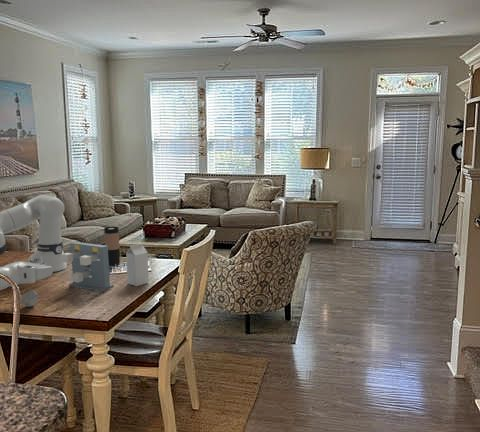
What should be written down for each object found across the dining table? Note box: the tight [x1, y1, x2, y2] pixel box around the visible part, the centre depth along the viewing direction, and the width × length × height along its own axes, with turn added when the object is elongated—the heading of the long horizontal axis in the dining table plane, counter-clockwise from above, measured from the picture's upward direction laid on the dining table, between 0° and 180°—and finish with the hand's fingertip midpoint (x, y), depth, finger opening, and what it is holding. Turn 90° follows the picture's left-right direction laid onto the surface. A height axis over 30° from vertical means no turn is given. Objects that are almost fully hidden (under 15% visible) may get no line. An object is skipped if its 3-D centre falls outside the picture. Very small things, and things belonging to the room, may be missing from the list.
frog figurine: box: [20, 289, 39, 308], centre depth 194 cm, size 6×7×7 cm
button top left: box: [62, 251, 81, 264], centre depth 217 cm, size 4×10×4 cm, turn 153°
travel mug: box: [103, 226, 121, 266], centre depth 258 cm, size 8×8×20 cm
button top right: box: [80, 253, 100, 266], centre depth 212 cm, size 4×10×4 cm, turn 153°
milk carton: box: [125, 242, 150, 287], centre depth 223 cm, size 7×7×19 cm
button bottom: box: [71, 270, 91, 283], centre depth 216 cm, size 4×10×4 cm, turn 153°
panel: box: [68, 241, 115, 292], centre depth 219 cm, size 20×8×20 cm, turn 63°
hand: (45, 264), depth 203 cm, fingers closed
